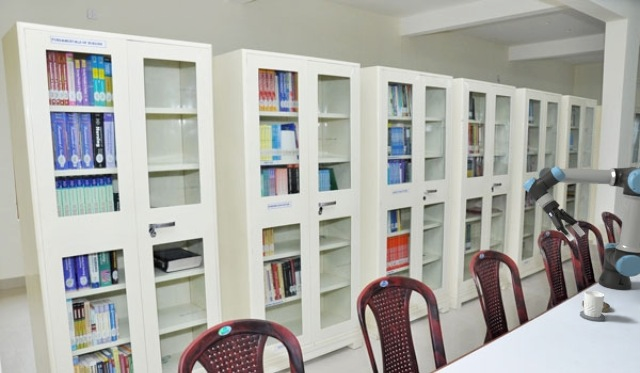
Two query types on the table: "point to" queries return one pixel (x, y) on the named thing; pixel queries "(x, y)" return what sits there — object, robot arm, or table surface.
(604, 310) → the collar
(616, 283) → the robot arm
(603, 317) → the coaster
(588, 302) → the white cup
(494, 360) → the table surface
